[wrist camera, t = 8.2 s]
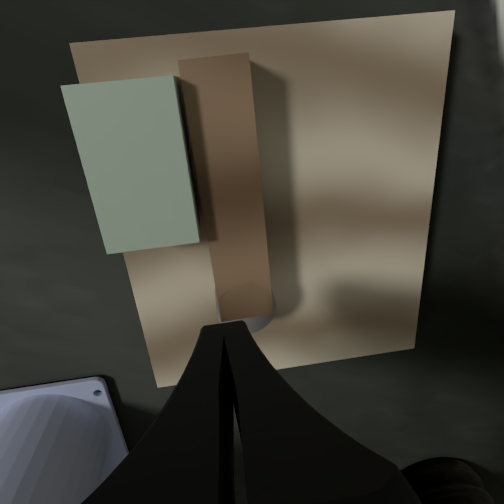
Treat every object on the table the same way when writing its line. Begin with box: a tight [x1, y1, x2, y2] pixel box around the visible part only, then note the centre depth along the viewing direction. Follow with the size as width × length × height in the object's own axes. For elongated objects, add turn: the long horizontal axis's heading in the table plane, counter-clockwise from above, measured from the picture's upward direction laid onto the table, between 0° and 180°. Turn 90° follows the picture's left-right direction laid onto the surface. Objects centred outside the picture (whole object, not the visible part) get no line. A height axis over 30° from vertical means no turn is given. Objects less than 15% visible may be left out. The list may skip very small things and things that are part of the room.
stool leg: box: [177, 52, 276, 333], centre depth 16 cm, size 12×3×2 cm, turn 6°
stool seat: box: [69, 10, 455, 388], centre depth 19 cm, size 18×16×2 cm
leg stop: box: [61, 75, 200, 254], centre depth 15 cm, size 6×4×3 cm, turn 5°
